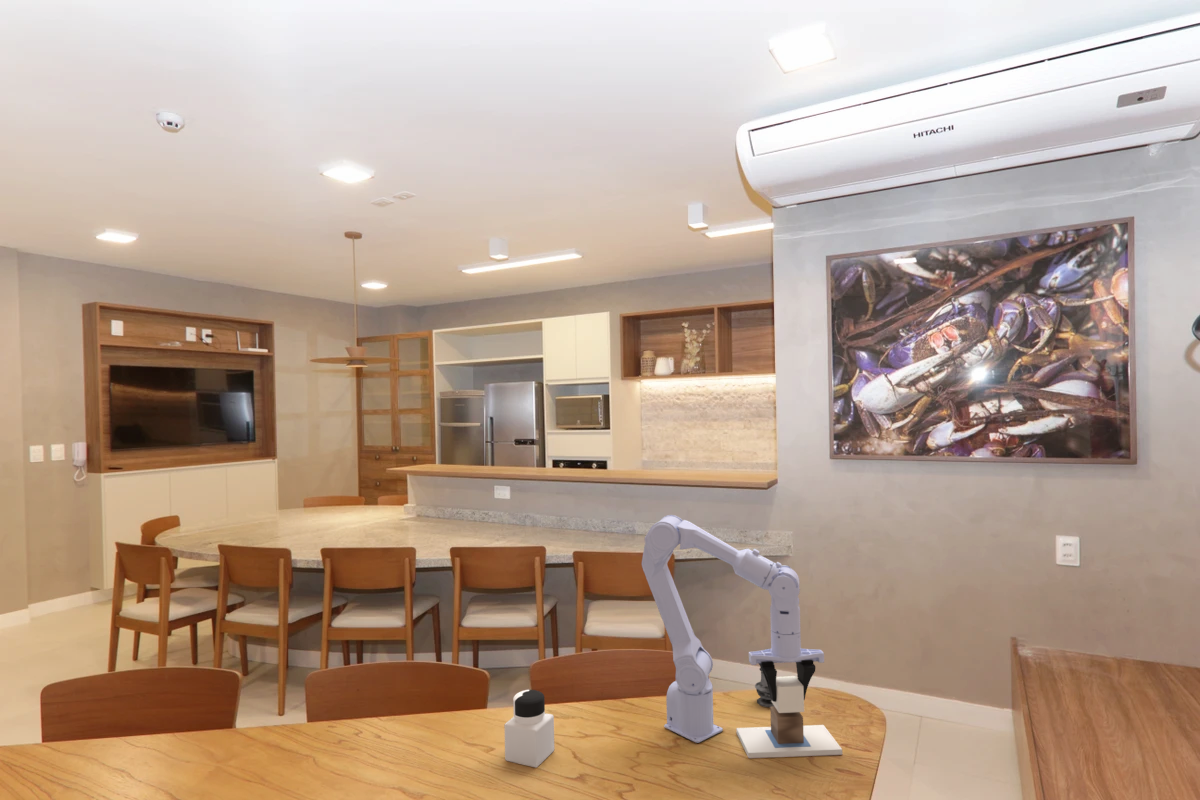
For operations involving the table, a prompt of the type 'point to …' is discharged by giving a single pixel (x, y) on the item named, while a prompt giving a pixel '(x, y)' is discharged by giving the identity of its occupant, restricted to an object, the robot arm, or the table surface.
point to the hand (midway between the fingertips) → (787, 698)
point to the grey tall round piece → (763, 692)
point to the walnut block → (787, 727)
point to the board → (765, 745)
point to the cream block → (789, 695)
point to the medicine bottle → (529, 730)
